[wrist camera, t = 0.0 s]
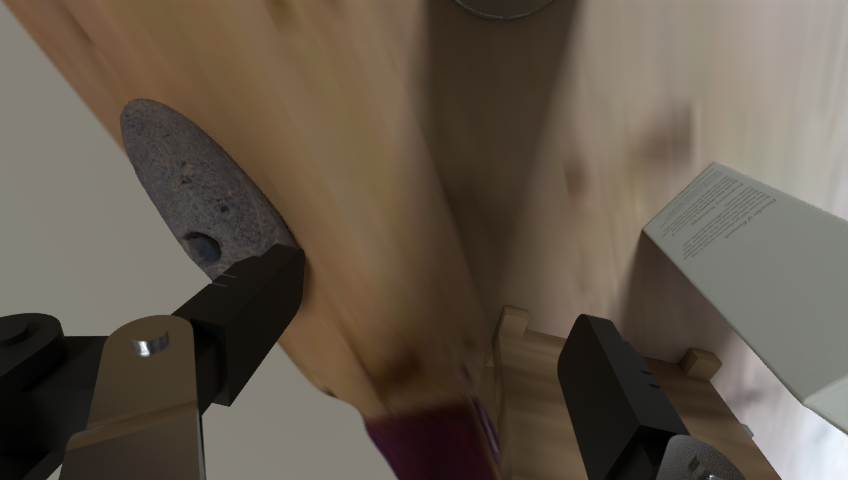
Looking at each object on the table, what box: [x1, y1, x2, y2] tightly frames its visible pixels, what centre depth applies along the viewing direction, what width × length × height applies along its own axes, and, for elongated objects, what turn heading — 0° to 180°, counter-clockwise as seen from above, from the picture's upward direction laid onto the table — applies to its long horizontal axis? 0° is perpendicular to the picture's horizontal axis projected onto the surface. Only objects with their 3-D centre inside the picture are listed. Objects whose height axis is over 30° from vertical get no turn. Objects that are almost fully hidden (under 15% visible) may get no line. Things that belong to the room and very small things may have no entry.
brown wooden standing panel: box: [486, 306, 782, 480], centre depth 26 cm, size 6×18×13 cm, turn 79°
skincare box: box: [643, 162, 848, 436], centre depth 19 cm, size 8×7×16 cm
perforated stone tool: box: [120, 98, 298, 281], centre depth 26 cm, size 15×5×7 cm, turn 28°
